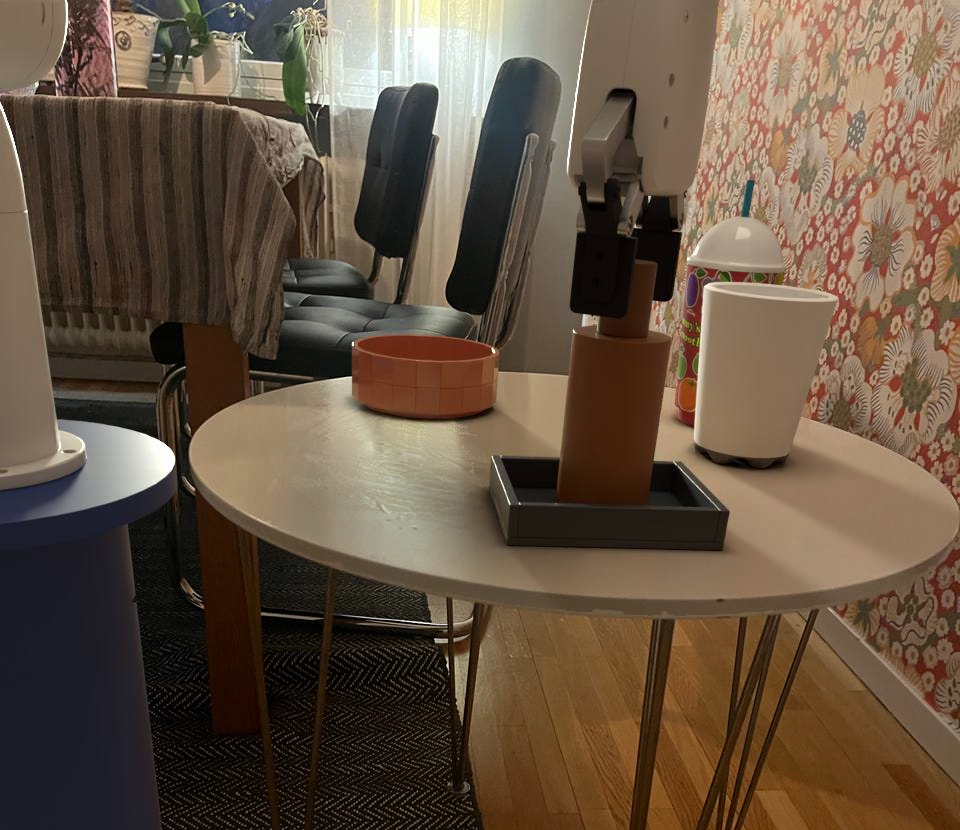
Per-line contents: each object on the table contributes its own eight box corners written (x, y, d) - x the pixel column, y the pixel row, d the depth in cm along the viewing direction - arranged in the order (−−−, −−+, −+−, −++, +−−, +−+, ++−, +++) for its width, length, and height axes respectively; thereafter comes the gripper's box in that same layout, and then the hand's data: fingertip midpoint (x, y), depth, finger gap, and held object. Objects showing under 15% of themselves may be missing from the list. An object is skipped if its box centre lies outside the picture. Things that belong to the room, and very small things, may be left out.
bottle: (563, 525, 58) (591, 263, 51) (548, 495, 63) (572, 253, 56) (655, 528, 58) (695, 269, 52) (633, 498, 64) (666, 258, 57)
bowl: (350, 418, 80) (350, 357, 78) (353, 385, 91) (353, 331, 89) (502, 424, 81) (507, 364, 79) (487, 390, 93) (490, 338, 91)
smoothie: (644, 417, 87) (678, 175, 78) (701, 407, 92) (738, 179, 83) (718, 439, 81) (764, 181, 72) (774, 427, 86) (823, 185, 77)
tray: (506, 545, 56) (509, 504, 55) (488, 490, 65) (491, 454, 64) (722, 550, 57) (730, 511, 56) (676, 496, 66) (681, 461, 65)
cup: (654, 451, 76) (678, 284, 71) (717, 433, 83) (744, 279, 77) (765, 482, 71) (801, 302, 65) (823, 460, 77) (861, 295, 71)
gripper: (644, -22, 56) (607, 287, 64) (536, -96, 42) (506, 314, 49) (773, -22, 53) (718, 300, 61) (705, -101, 39) (645, 333, 47)
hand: (623, 306), depth 55 cm, fingers open, 9 cm apart
